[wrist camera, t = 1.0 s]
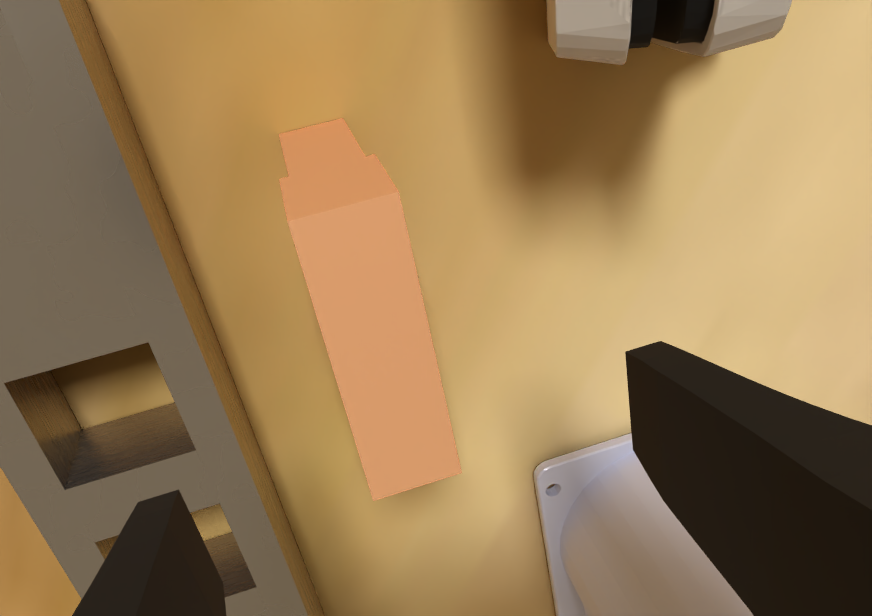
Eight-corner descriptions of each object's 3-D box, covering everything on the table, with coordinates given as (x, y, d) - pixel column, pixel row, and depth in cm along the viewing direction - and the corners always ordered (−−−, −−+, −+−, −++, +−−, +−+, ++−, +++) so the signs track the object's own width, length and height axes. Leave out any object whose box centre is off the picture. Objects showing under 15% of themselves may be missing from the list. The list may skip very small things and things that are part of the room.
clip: (405, 341, 22) (461, 472, 17) (338, 360, 21) (373, 501, 16) (350, 116, 19) (398, 191, 13) (270, 136, 18) (287, 221, 13)
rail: (347, 673, 27) (357, 738, 25) (203, 723, 27) (201, 794, 24) (66, -49, 16) (41, -45, 13) (-201, 8, 15) (-273, 22, 13)
